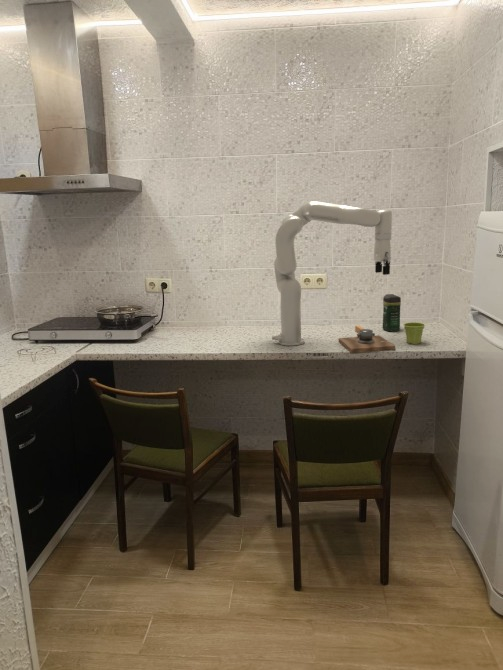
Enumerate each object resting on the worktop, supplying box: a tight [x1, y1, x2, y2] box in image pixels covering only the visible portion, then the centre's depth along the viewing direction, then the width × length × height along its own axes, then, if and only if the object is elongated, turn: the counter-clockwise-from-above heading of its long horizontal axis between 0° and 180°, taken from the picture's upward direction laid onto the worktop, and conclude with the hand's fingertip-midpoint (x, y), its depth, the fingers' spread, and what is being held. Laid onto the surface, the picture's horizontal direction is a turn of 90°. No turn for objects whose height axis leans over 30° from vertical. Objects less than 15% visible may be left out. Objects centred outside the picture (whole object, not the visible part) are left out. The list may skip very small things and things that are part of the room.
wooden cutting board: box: [338, 335, 396, 354], centre depth 221 cm, size 20×20×3 cm
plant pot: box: [403, 321, 426, 345], centre depth 223 cm, size 9×9×9 cm
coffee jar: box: [382, 293, 402, 333], centre depth 248 cm, size 10×8×19 cm
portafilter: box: [354, 325, 376, 341], centre depth 225 cm, size 8×16×4 cm, turn 6°
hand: (382, 273), depth 230 cm, fingers open, 9 cm apart
